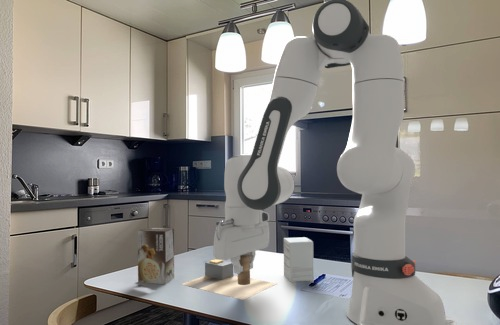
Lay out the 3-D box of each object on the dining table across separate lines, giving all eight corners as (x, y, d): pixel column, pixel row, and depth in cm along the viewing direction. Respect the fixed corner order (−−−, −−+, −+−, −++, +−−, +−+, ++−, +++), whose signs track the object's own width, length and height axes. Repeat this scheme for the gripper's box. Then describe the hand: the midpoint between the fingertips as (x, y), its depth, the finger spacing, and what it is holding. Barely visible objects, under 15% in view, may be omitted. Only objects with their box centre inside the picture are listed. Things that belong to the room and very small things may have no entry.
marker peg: (252, 282, 96) (251, 250, 97) (245, 285, 94) (244, 252, 94) (242, 280, 98) (241, 249, 99) (235, 283, 96) (234, 251, 96)
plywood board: (276, 287, 105) (276, 283, 106) (243, 304, 92) (243, 299, 92) (217, 275, 118) (217, 271, 118) (180, 288, 105) (180, 284, 105)
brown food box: (175, 281, 112) (175, 227, 112) (166, 288, 105) (166, 231, 106) (147, 279, 114) (147, 226, 114) (136, 286, 107) (136, 230, 108)
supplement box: (306, 277, 116) (306, 236, 116) (314, 284, 109) (313, 241, 109) (283, 278, 115) (283, 237, 115) (289, 286, 107) (289, 241, 108)
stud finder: (233, 275, 113) (233, 261, 113) (222, 279, 109) (222, 264, 109) (216, 272, 117) (216, 258, 117) (205, 275, 113) (205, 261, 113)
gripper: (226, 222, 86) (228, 282, 86) (272, 213, 103) (274, 264, 103) (206, 221, 90) (207, 279, 89) (253, 213, 107) (255, 261, 106)
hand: (243, 270), depth 96 cm, fingers closed on marker peg, 3 cm apart
